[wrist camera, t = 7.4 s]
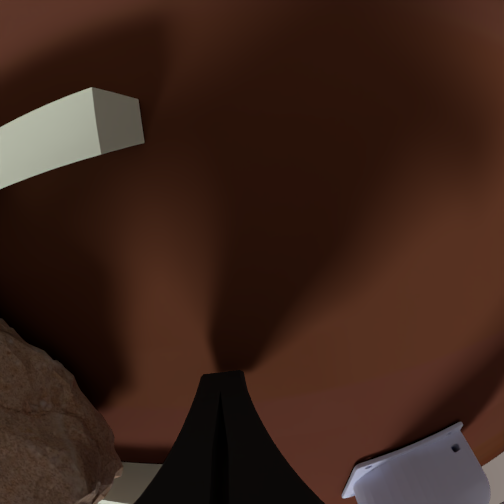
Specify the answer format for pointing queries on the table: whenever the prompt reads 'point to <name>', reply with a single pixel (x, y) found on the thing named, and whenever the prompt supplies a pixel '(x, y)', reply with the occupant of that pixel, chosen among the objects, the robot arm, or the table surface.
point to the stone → (49, 431)
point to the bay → (66, 152)
